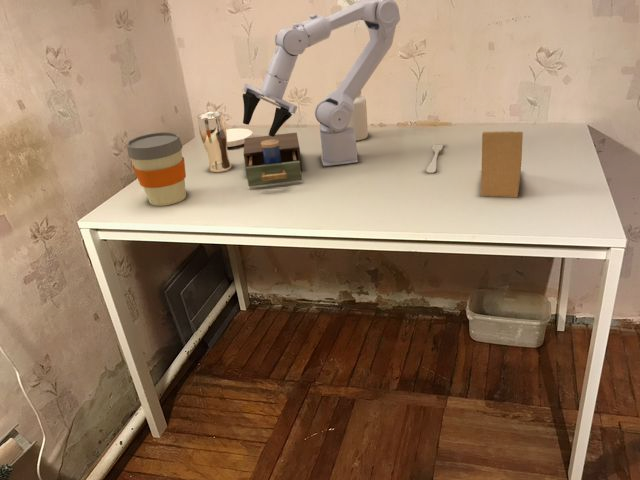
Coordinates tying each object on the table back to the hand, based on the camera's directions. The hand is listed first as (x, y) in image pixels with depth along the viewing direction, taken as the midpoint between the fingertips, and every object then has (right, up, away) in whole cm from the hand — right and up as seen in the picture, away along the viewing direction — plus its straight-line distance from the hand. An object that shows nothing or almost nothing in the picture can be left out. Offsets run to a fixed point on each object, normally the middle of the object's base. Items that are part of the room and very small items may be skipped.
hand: (258, 129), depth 146 cm
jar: (+4, -10, +4) cm, 11 cm away
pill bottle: (+24, +5, +31) cm, 40 cm away
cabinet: (+2, -6, +14) cm, 15 cm away
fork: (+46, -6, +9) cm, 47 cm away
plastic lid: (-15, +4, +35) cm, 38 cm away
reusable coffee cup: (-22, -18, -1) cm, 29 cm away
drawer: (+4, -11, +3) cm, 12 cm away
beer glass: (-13, -7, +15) cm, 21 cm away
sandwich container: (+59, -15, -9) cm, 62 cm away
